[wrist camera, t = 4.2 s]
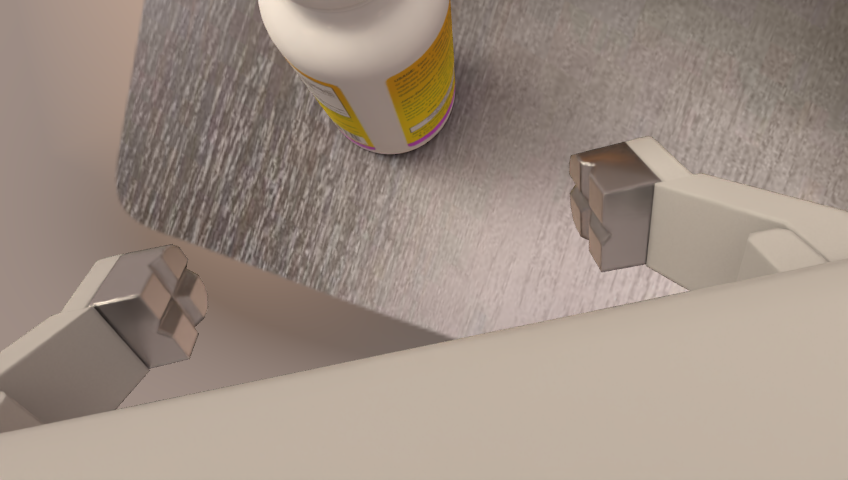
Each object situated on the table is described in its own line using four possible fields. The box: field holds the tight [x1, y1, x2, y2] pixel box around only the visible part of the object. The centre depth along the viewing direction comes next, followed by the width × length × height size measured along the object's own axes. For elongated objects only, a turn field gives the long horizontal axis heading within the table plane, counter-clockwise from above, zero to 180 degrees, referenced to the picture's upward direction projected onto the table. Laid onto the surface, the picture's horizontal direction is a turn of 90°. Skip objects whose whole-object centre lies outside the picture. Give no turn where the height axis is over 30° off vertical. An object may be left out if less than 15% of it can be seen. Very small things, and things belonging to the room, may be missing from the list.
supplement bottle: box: [258, 0, 455, 154], centre depth 20 cm, size 7×7×13 cm
